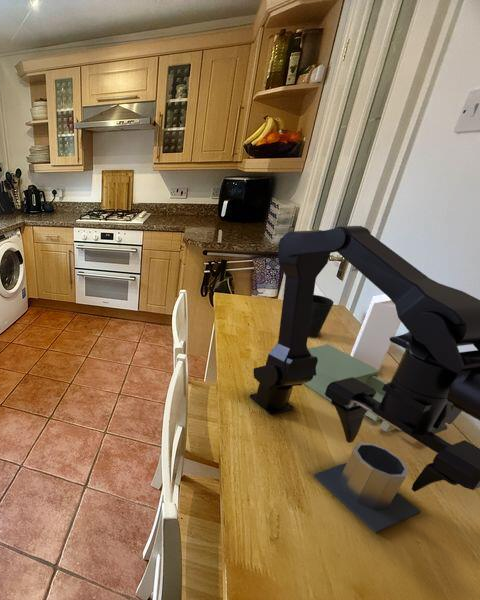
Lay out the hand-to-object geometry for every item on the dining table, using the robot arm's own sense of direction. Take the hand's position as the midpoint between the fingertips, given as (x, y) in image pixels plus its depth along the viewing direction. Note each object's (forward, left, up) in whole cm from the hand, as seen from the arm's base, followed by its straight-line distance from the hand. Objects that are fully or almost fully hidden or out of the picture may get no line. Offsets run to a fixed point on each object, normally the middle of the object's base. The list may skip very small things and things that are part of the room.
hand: (379, 463), depth 51 cm
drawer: (+23, +11, -6) cm, 26 cm away
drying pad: (0, 0, -7) cm, 7 cm away
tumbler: (0, 0, -7) cm, 7 cm away
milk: (+39, +26, -7) cm, 47 cm away
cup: (+41, +44, -7) cm, 61 cm away
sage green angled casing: (+23, +24, -7) cm, 34 cm away
